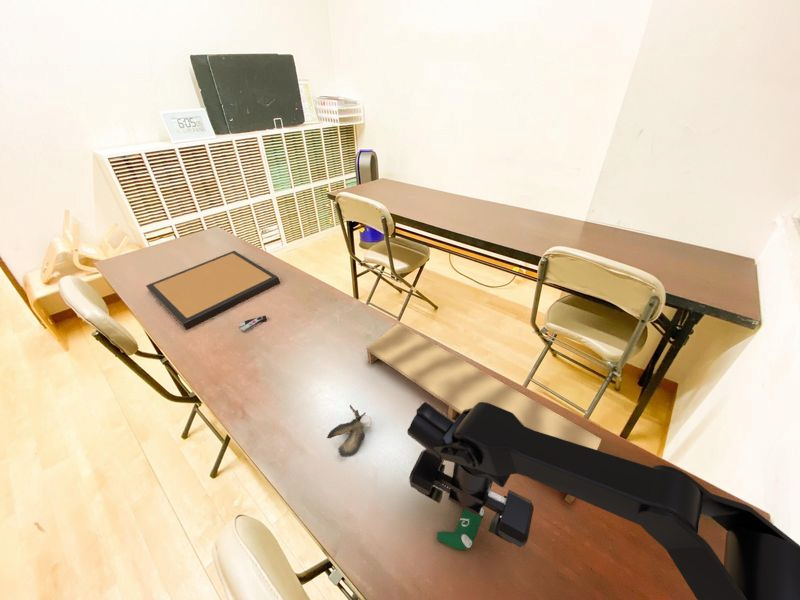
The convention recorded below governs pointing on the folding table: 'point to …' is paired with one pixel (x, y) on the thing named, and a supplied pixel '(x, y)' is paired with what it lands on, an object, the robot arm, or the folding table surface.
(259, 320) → the usb flash drive
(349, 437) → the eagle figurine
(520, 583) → the folding table surface
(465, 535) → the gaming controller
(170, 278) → the cork board
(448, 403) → the shelf
